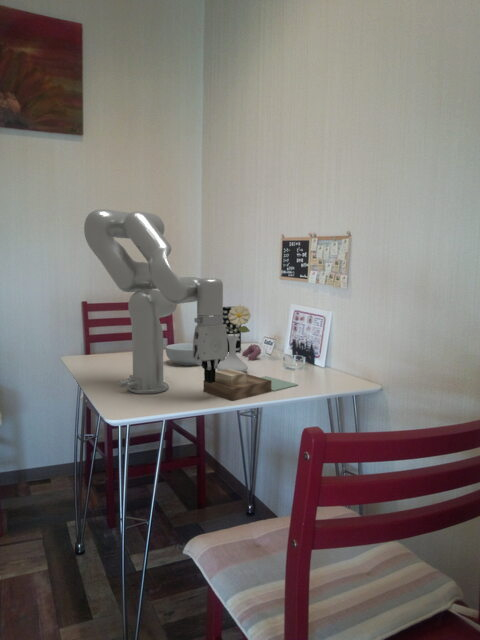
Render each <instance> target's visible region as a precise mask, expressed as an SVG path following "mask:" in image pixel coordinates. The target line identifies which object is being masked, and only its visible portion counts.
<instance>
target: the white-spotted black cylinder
mask: <svg viewBox="0 0 480 640" xmlns="http://www.w3.org/2000/svg"><path fill="white" fill-rule="evenodd" d="M234 307H235V306H223V325H225V328H226V333H227V335H228V334H234V333H235V332H236V331H237V329H238V327H239V326H237V325H236V324H235V325H234V324H233V323H230V320H229V317H228V314H229V312H230V310H231V308H234ZM227 327H229V328H231V329H233V330H234V331H233V330H231V329H229V328H227ZM240 327H242V325H240ZM236 334H237V335H240V336H239V337H238V339H237V342H236V352H239V351H241V352H242V332H241V331H240V330H239V329H238V331H237V332H236ZM227 342H228V352H229V350H230V348H229V341H228V338H227ZM239 353H240V352H239Z"/></svg>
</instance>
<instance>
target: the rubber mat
mask: <svg viewBox="0 0 480 640" xmlns="http://www.w3.org/2000/svg"><path fill="white" fill-rule="evenodd" d="M260 378H264V379H267V380H271V381H272V383H271V392H274V393H275V392H278V391H282V390H287V389H290V388H294V387H297V386H299V384H297V383H293V382H290V381H286V380H283V379H280V378H279V379H278V378H275V377H271V376H267V375H265V376H260Z"/></svg>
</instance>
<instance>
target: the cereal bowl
mask: <svg viewBox="0 0 480 640" xmlns="http://www.w3.org/2000/svg"><path fill="white" fill-rule="evenodd" d="M165 354H166V357H167V358H168V359H169V360H171V361H172V362H174V363H176V364H178V365H179V366H194V365H196V364H194V360H195V358H194V357H193V342H182V343H181V342H180V343H174V344H168V345H166V346H165Z"/></svg>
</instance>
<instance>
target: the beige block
mask: <svg viewBox="0 0 480 640" xmlns="http://www.w3.org/2000/svg"><path fill="white" fill-rule="evenodd" d="M246 374H247V373H246V372H240V371H236V370H232V369H225V370H220V371H219V370H215V381H216V382H220V383H223V384H226V385H230V386H234V385H238V384H243V383H246Z"/></svg>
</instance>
